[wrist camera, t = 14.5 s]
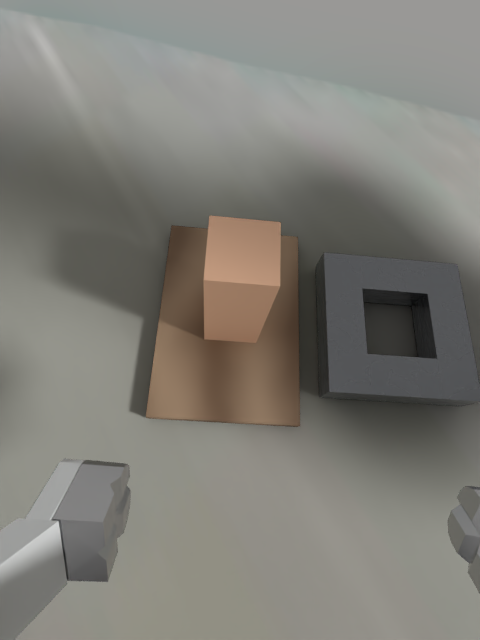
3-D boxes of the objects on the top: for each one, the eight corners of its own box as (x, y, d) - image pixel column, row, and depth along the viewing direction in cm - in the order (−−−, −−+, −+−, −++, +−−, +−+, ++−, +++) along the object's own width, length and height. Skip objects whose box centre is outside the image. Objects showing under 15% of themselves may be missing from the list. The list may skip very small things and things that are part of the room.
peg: (257, 296, 30) (280, 222, 21) (256, 343, 29) (280, 286, 19) (208, 292, 30) (209, 215, 20) (204, 339, 28) (203, 280, 19)
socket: (439, 277, 33) (457, 264, 31) (460, 406, 29) (482, 401, 27) (315, 267, 33) (324, 252, 30) (319, 397, 29) (329, 391, 26)
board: (295, 243, 33) (297, 236, 32) (296, 426, 28) (299, 425, 27) (172, 232, 33) (171, 225, 32) (147, 418, 27) (145, 416, 26)
